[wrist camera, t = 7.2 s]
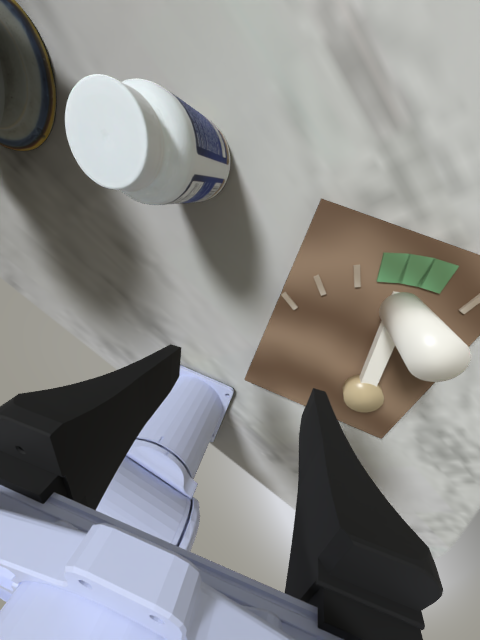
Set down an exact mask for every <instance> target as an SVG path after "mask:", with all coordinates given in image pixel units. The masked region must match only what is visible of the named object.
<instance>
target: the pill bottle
mask: <svg viewBox="0 0 480 640" xmlns="http://www.w3.org/2000/svg"><path fill="white" fill-rule="evenodd" d="M65 128H66V135H67V139H68V142H69V146H70V148H71V151H72V153H73V156H74V157H75V159H76V161H77V163H78V164H79V166H80V167H81V169H82V170H83V171H84V173H85V174H86V175H87V176H88V177H89V178H90V179H92V180H93V181H94V182H95V183H97V184H99V185H100V186H102V187H105V188H108V189H112V190H121V191H122V192H123V193H124V194H125V195H127V196H128V197H130V198H131V199H133V200H135V201H138V202H140V203H144V204H149V205H165V204H179V203H193V202H202V201H206V200H209V199H211V198H213V197H214V196H216V195H217V194H218V193H219V192H220V191H221V190H222V188H223V187H224V185H225V184H226V181H227V178H228V175H229V170H230V151H229V147H228V144H227V141H226V139H225V137H224V135H223V133H222V132H221V131H220V129H219V128H218V127H217V126H216V125H215V124H214V123H213V122H212V121H210V120H209V119H207V118H206V117H205V116H203V115H202V114H200V113H199V112H197V111H196V110H195V109H193V108H192V107H190V106H189V105H188V104H186V103H185V102H183V101H182V100H181V99H179V98H178V97H176V96H175V95H174V94H172V93H171V92H170V91H168V90H166V89H165V88H163V87H162V86H160V85H158V84H156V83H154V82H151V81H149V80H145V79H129V80H125V81H123V82H120V81H118V80H116V79H115V78H113V77H110V76H107V75H102V74H94V75H89V76H86V77H84V78H83V79H81V80H80V81H78V83H77V84H76V85H75V87H73V89H72V91H71V93H70V94H69V98H68V100H67V104H66V111H65Z"/></svg>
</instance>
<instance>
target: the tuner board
mask: <svg viewBox="0 0 480 640" xmlns="http://www.w3.org/2000/svg"><path fill="white" fill-rule="evenodd" d="M393 291H395V292H408V293H412V294H414V295H416V296H417V297H418V298H419V299H420V300H421V301H422V302H423V303H424V304H425V305H426V306H427V307H429V308H430V309H431V310H432V311H433V312H434V313H435V314H436V315H437V316H438V317H439V318H440V319H441V320H442V321H443V322H444V323H445V324H446V325H447V326H448V327H449V328H450V329H451V330H452V331H453V332H454V333H455V334H456V335H457V336H458V337H459V338H460V339H461V340H462V341H463V342H464V343H465V344H466V345H467V346H468V347H469V346H470V345H471V344H472V343H473V342H474V341H475V339H476V338H477V337H478V336H479V335H480V255H478V254H475V253H472V252H470V251H467V250H464V249H461V248H458V247H456V246H453V245H450V244H447V243H444V242H442V241H439V240H436V239H433V238H430V237H428V236H425V235H422V234H419V233H416V232H414V231H411V230H408V229H405V228H402V227H400V226H397V225H394V224H391V223H388V222H386V221H383V220H380V219H377V218H374V217H372V216H369V215H366V214H363V213H360V212H358V211H355V210H352V209H349V208H346V207H344V206H341V205H338V204H335V203H332V202H330V201H327V200H324V199H321V200H320V203H319V205H318V207H317V210H316V212H315V214H314V217H313V219H312V222H311V224H310V226H309V229H308V231H307V233H306V236H305V238H304V240H303V243H302V245H301V247H300V250H299V252H298V254H297V257H296V259H295V261H294V264H293V266H292V269H291V271H290V273H289V276H288V278H287V280H286V283H285V285H284V287H283V290H282V292H281V294H280V297H279V299H278V301H277V304H276V306H275V308H274V311H273V313H272V315H271V318H270V320H269V323H268V325H267V327H266V330H265V332H264V334H263V337H262V339H261V341H260V344H259V346H258V348H257V351H256V353H255V355H254V358H253V360H252V362H251V365H250V367H249V370H248V372H247V374H246V377H245V380H246V381H248V382H251V383H253V384H255V385H258V386H260V387H262V388H265V389H267V390H269V391H272V392H274V393H276V394H279V395H281V396H283V397H286V398H288V399H290V400H293V401H295V402H297V403H299V404H302V405H304V406H306V404H307V402H308V399H309V397H310V395H311V392H312V390H313V388H315V389H318V390H322V391H325V392H326V393H327V396H328V398H329V401H330V404H331V406H332V408H333V411H334V413H335V416H336V418H337V420H339V421H341V422H344V423H346V424H348V425H351V426H353V427H355V428H358V429H360V430H362V431H365V432H367V433H369V434H372V435H374V436H376V437H379V438H381V439H382V438H383V437H384V435H385V434H386V433H387V432H388V431H389V430H390V429H391V428H392V427H393V426H394V425H395V424H396V423H397V422H398V421H399V420H400V419H401V418H402V416H403V415H404V414H405V413H406V412H407V411H408V410H409V409H410V408H411V407H412V406H413V405H414V404H415V403H416V402H417V401H418V400H419V399H420V397H421V396H422V395H423V394H424V393H425V392H426V391H427V390H428V389H429V388H430V387H431V386H432V385H433V384H434V383H435V382H429V381H424V380H421V379H418V378H417V377H415V376H414V375H412V374H411V373H410V371H409V370H408V368H407V366H406V365H405V363H404V361H403V359H402V357H401V355H400V353H399V352H398V350H397V348H396V346H395V347H394V349H393V351H392V353H391V356H390V358H389V360H388V362H387V365H386V367H385V369H384V371H383V374H382V376H381V378H380V380H379V384H380V387H381V390H382V393H383V396H384V402H383V404H382V405H381V407H380V408H378V409H377V410H375V411H372V412H357V411H355V410H352V409H351V408H349V407H348V406H347V405H346V403H345V401H344V396H343V389H342V388H343V384H344V382H345V381H346V380H347V379H348V378H350V377H352V376H354V375H360V374H361V371H362V369H363V366H364V364H365V361H366V359H367V356H368V354H369V351H370V348H371V346H372V343H373V341H374V338H375V336H376V333H377V331H378V328H379V326H380V323H381V321H382V320H381V318H380V316H379V308H380V306H381V304H382V302H383V301H384V300H385V299H386V298H387V297H389V296H391V295H392V293H393Z"/></svg>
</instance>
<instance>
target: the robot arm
mask: <svg viewBox="0 0 480 640" xmlns="http://www.w3.org/2000/svg"><path fill="white" fill-rule="evenodd" d="M180 358H181V347H177V346H174V345H169V346H167V347H165V348H163V349H161V350H159V351H157V352H155V353H153V354H151V355H149V356H147V357H145V358H143V359H141V360H139V361H137V362H135V363H133V364H130V365H128V366H126V367H124V368H121V369H119V370H116V371H114V372H111V373H108V374H106V375H103V376H100V377H97V378H94V379H90V380H87V381H83V382H80V383H76V384H72V385H68V386H63V387H58V388H53V389H48V390H42V391H35V392H29V393H22V394H18V395H17V396H15V397H14V398H12V399H11V400H9V401H8V402H6V403H5V404H3V405H2V406H0V599H2V600H4V601H5V602H6V604H5V605H4V606H3V608H2V609H1V610H0V640H423V639H422V634H421V630H423V629H424V627H425V625H424V620H423V616H422V612H421V610H423V609H425V608H426V607H428V606H429V605H431V604H433V603H434V602H436V601H437V600H438V599H439V598H440V597H441V596H442V592H443V588H442V584H441V581H440V578H439V575H438V571H437V568H436V565H435V562H434V560H433V557H432V555H431V552H430V550H429V547H428V546H427V545H426V544H425V543H424V542H423V541H422V540H421V539H420V538H419V537H418V535H417V534H416V533H415V532H414V531H413V530H412V529H411V528H410V527H409V526H408V524H407V523H406V522H405V521H404V520H403V519H402V518H401V516H400V515H399V514H398V513H397V512H396V510H395V509H394V508H393V507H392V506H391V504H390V503H389V502H388V501H387V499H386V498H385V497H384V496H383V494H382V493H381V492H380V490H379V489H378V488H377V486H376V485H375V483H374V482H373V481H372V479H371V478H370V477H369V475H368V474H367V472H366V471H365V469H364V468H363V466H362V465H361V463H360V461H359V460H358V458H357V456H356V455H355V453H354V451H353V450H352V448H351V446H350V444H349V442H348V440H347V439H346V437H345V435H344V433H343V431H342V429H341V426H340V424H339V422H338V420H337V418H336V416H335V413H334V411H333V408H332V406H331V404H330V401H329V398H328V396H327V393H326V392H325V391H322V390H318V389H315V388H313V390H312V392H311V395H310V397H309V399H308V402H307V404H306V407H305V409H304V412H303V414H302V418H301V425H300V433H299V481H298V495H297V504H296V513H295V522H294V530H293V538H292V546H291V553H290V560H289V568H288V574H287V581H286V588H285V593H283V592H281V591H278V590H276V589H274V588H272V587H269V586H267V585H264V584H262V583H260V582H258V581H256V580H253V579H251V578H249V577H246V576H244V575H242V574H240V573H237V572H235V571H233V570H230V569H228V568H226V567H224V566H221V565H219V564H217V563H214V562H212V561H210V560H208V559H205V558H203V557H201V556H198V555H196V554H194V553H191V552H190V551H191V548H192V546H193V543H194V540H195V537H196V534H197V530H198V526H199V520H200V513H199V502H198V500H197V499H195V498H194V497H193V494H194V492H195V490H196V487H197V485H198V484H197V482H195V481H194V480H193V479H194V477H195V474H196V472H197V469H198V467H199V465H200V462H201V460H202V458H203V455H204V453H205V451H206V448H207V446H208V444H209V442H213V441H214V439H215V437H216V434H217V432H218V430H219V427H220V425H221V422H222V420H223V417H224V415H225V413H226V410H227V408H228V405H229V403H230V400H231V398H232V396H233V393H234V389H233V388H232V387H230V386H227V385H225V384H223V383H220V382H218V381H216V380H214V379H211V378H209V377H207V376H204V375H202V374H200V373H197V372H195V371H193V370H191V369H188V368H186V367H184V366H181V365H180ZM227 394H229V395H227ZM420 629H421V630H420Z"/></svg>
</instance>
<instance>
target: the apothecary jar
mask: <svg viewBox="0 0 480 640" xmlns="http://www.w3.org/2000/svg"><path fill="white" fill-rule="evenodd" d="M55 110H56V90H55V82H54V77H53V73H52V69H51V65H50V61H49V58H48V55H47V52H46V49H45V47H44V45H43V42H42V40H41V38H40V36H39V34H38V32H37V30H36V29H35V27H34V25H33V24H32V22H31V20H30V19H29V17H28V16H27V15H26V13H25V12H24V11H23V9H22V8H21V7H20V6H19V4H18V3H17V2H16V1H15V0H0V144H1V145H2V146H4V147H6V148H9V149H13V150H18V151H27V150H32V149H35V148H37V147H38V146H40V145H41V144H42V143H43V142H44V141H45V140H46V139H47V137H48V135H49V133H50V131H51V129H52V126H53V122H54V118H55Z"/></svg>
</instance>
